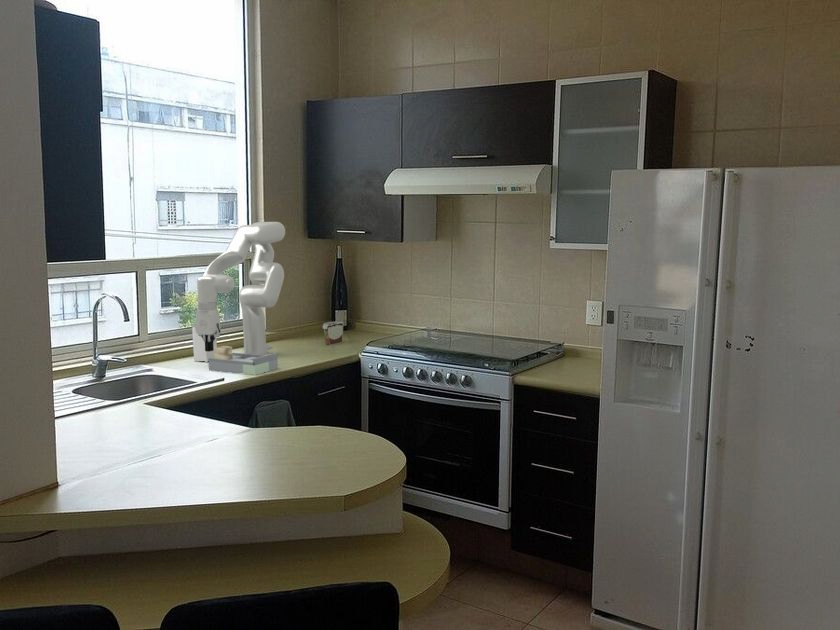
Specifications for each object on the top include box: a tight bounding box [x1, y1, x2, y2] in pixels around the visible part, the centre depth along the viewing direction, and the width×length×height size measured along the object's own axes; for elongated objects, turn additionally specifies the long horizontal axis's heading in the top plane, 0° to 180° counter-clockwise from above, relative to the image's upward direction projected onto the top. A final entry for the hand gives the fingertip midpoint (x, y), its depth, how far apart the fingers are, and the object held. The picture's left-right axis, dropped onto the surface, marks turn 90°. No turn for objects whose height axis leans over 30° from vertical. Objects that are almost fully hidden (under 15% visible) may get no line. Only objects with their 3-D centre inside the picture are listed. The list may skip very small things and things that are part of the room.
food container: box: [322, 321, 345, 346], centre depth 386 cm, size 12×6×10 cm, turn 144°
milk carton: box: [191, 323, 218, 363], centre depth 347 cm, size 7×7×19 cm
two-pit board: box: [208, 352, 279, 376], centre depth 326 cm, size 14×24×6 cm, turn 61°
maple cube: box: [214, 345, 233, 360], centre depth 327 cm, size 5×5×5 cm
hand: (209, 350), depth 330 cm, fingers closed
